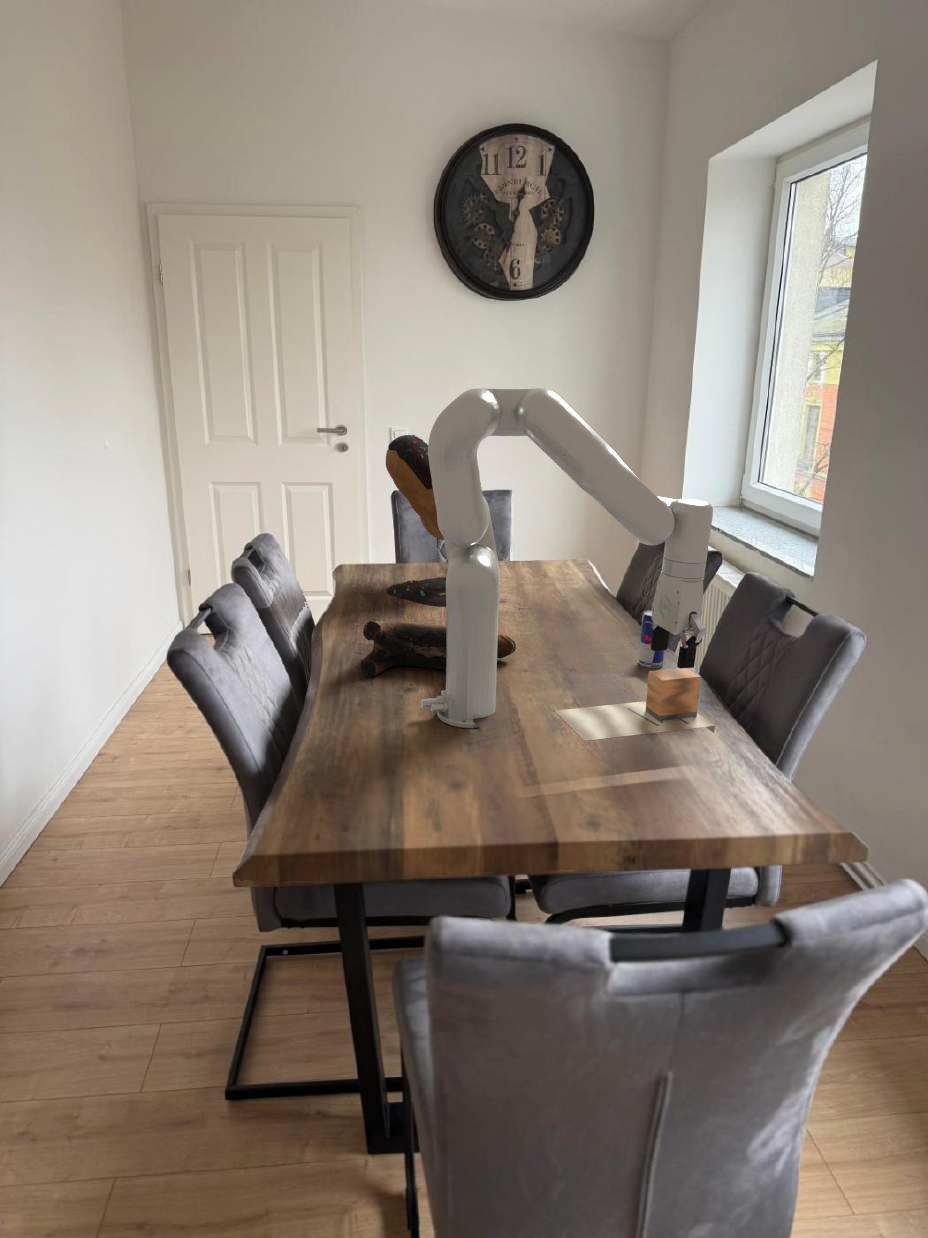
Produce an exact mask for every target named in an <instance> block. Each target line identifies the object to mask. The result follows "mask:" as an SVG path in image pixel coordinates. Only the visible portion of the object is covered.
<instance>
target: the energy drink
mask: <svg viewBox="0 0 928 1238" xmlns="http://www.w3.org/2000/svg"><path fill="white" fill-rule="evenodd" d="M651 617H652V609H649V610H645V611H643V614H642V617H641V631H640V644H639V652H638V653H639V656H638V664H639V665H640V666H641V667H644V668H648V669H658V668H659V669H660V668H661V667H662V666H663V665H664V656H665V650H663V651H653V650H651V643H652V635H653V629H652V624H653V620H652V618H651Z"/></svg>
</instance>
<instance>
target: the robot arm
mask: <svg viewBox="0 0 928 1238" xmlns="http://www.w3.org/2000/svg"><path fill="white" fill-rule="evenodd" d="M488 437H528V438H529V439H530V441H532V442H533V443H534V444H535V445H536V446H537V447H538V448H539V449H541V451H543V453H544V454H546V455H547V456H548V458H549V459H550V460H551V461H553V462H554V463H555V465H557V466H558V467H559V468H560V469H561V470H562V471H563V473H565V474H566V475H567V476H568V477H569V478H570V479H571V480H572V481H573V482H574V483H575V484H576V485H578V486H579V488H581V489H582V490H583V491H584V492H585V493H586V494H588V495H589V496H590V497H591V498H593V499H594V500H595V501H596V502H598V503H599V505H600V506H601V507H602V508H603V509H605V510H606V512H608V513H609V514H610V515H611V516H612V517H613V518H614V519H615V520H616V521H617V522H618V523H620V524H621V526H622V527H623V528H625V530H626V531H627V532H628V533H629V534H630V535H631V536H632V537H634V539H636V540H637V541H638V542H639V543H640V544H643V545H647V546H657V545H661V544H663V543H664V550H663V559H662V565H661V571H660V574H659V577H658V579H657V582H656V583H657V584H656V588H655V592H654V598H653V602H651V604H650V605H651V610H652V617H651V618H652V620H653V624H652V629H653V635H652V643H651V650H653V651H663V650H664V651H667V650H668V645H669V636H670V634H672V635H676V636H677V635H679V639H680V642H681V646H679V648H678V649H679V650H678V656H677V665H676V666H677V669H678V668H680V669H681V668H688V669H693V668H694V667H695V664H696V663H695V662H696V657H697V656H696V655H697V649H699V647H700V644H702V642H703V638H704V636H705V633H706V632H707V630H706V627H705V626H704V624H703V622H702V615H703V605H704V601H703V600H704V580H705V574H706V573H705V572H706V566H707V559H708V554H709V553H708V552H709V546H710V545H709V544H710V538H711V531H712V524H713V523H712V522H713V516H714V515H713V514H714V508H713V506H712V504H711V503H710V502H708V501H704V500H700V499H691V498H678V499H674V498H668V497H662V496H657V495H656V494H655V493H654V492H653V491H652V489H650V488H649V487H648V486H647V485H646V484H645V483H644V482H643V481H642V480H641V478H639V477H638V476H637V475H636V474H635V473H634V472H633V471H632V470H631V469H630V468H629V467H628V466H627V464H626V463H625V462H624V461H623V460H622V459H621V458H620V456H619V454H618V453H617V452H616V451H615V450H614V449H613V448H612V447H611V446H610V445H609V444H608V443H607V441H605V440H604V439H603V438H602V437H601V436H600V435H599V434H598V433H597V432H596V431H595V430H594V429H593V428H592V427H591V426H590V425H589V424H588V423H587V422H586V421H585V420H584V419H583V418H582V417H581V416H579V414H578V413H576V411H575V410H573V408H572V407H570V406H569V404H568V403H567V402H566V401H564V400H563V398H561V397H560V396H559V395H558V394H557V393H555V391H554V392H553V391H551V390H550V389H546V388H539V387H538V388H471V389H467V390H465V391H464V392H462V393H461V394H460V395H459V396H457V397H456V398H455V399H454V400H452V401H451V402H450V403H449V404H448V405H447V406H446V407H445V408H444V409H443V410H441V412H440V414H439V415H437V418H436V419H435V421H434V423H433V424H432V427H431V430H430V433H429V437H428V443H427V445H428V457H429V465H430V471H431V478H432V486H433V492H434V498H435V503H436V510H437V522H438V527H439V530H440V532H441V534H442V535H443V537H444V540H443V541H444V547H445V551H446V557H447V562H448V568H447V573H446V577H447V579H446V607H445V608H446V610H445V611H446V612H445V613H446V614H445V615H446V617H445V618H446V623H445V626H446V670H445V690H443V689H442V690H441V695H437V696H436V697H426V698H421V699H420V707H421V709H422V710H424V709H430V711H431V712H433V713H434V712H437V713H436V714H437V718H438V719H439V720H440V721H442V722H443V723H444V724H447V725H449V726H452V727H456V728H464V729H465V728H466V729H480V726H479V725H478V723H477V722H476V721H475V719H483V718H487V717H489V716H492V715H493V714H495V712H496V707H497V706H496V705H497V704H496V703H497V701H496V700H497V672H498V671H497V669H498V668H497V667H498V665H497V663H498V658H497V639H498V634H499V633H498V630H499V606H500V605H499V604H500V591H501V589H500V588H501V583H500V582H501V578H500V576H501V575H500V566H499V565H500V564H499V563H500V562H499V558H498V553H497V546H496V541H495V536H494V529H493V524H492V516H491V510H490V506H489V503H488V500H486V498H485V496H484V493H483V490H482V489H483V488H482V483H481V477H480V469H479V462H478V449H479V446H480V444H481V443H482V441H483V440H485V439H487V438H488ZM687 636H690V637H689V638H688V639H687Z"/></svg>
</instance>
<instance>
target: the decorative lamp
mask: <svg viewBox="0 0 928 1238" xmlns="http://www.w3.org/2000/svg"><path fill="white" fill-rule="evenodd" d="M385 468H386V471H387V472H388V474H389V476H390V478H391V479H392V480H393V483H394V485H395V487H396V488H397V490H399V492H400V493H401V494H402V495H403V496H404V497H405V498H406V500H407V501H408V503H409V504H410V506H411V508H412V509H413V511H414V512H415V513H416V514H417V515H418V516H419V519H420V521H421V524H422V526H423V528H424V529H425V530H426V531H427V532H428V533H429V534H430V535H431V536H432V537H434V538H435V539H438V540H440V541H444V537H443V535H442V534H441V532H440V530H439V527H438V522H437V510H436V503H435V498H434V492H433V486H432V478H431V471H430V465H429V457H428V443H427V442H425V441H424V440H423V439H422V438H421V437H419V436H416V434H403V435H400V436H397V437H396V438H394V439H393V440H392V441H391V442H390V443H389V444H388V446H387V451H386V453H385ZM446 579H447V576H446V577H440V576H438V577H436V578H435V577H434V578H425V579H421V580H413V579H412V580H407V581H404V582H400V583H397V584H392V585H390V586H389V587H387V588H386V594H387V595H390V596H394V597H397V598H399V599H402V600H403V599H404V600H407V601H410V602H416V603H419V604H422V605H427V606H430V607H437V608H438V607H439V608H442V607H443V608H446Z"/></svg>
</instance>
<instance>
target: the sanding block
mask: <svg viewBox="0 0 928 1238" xmlns="http://www.w3.org/2000/svg"><path fill="white" fill-rule="evenodd" d="M647 675H648V678H647V689H646V690H647V691H646V700H645V701H646V712H648V713H649V714H650V715H652V716H653V717H654V718H655V719H657V720H658V721H662V720H671V719H680V718H689V717H697V713H698V706H699V697H700V687H701V677H702V676H701V675H699V674H697V673H696V672H694V671H693V670H691V669H690V668H681V669H680V668H678V667H677V668H670V669H659V670H657V669H656V670H650V671H648V674H647Z"/></svg>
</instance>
